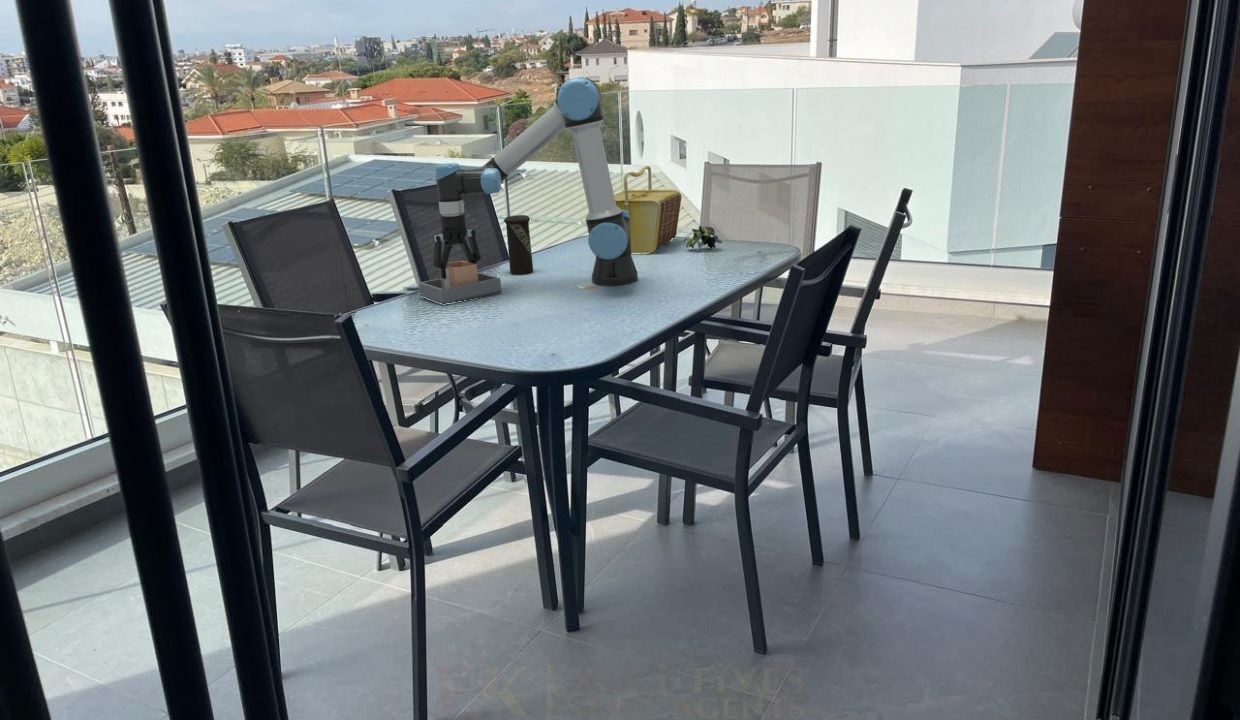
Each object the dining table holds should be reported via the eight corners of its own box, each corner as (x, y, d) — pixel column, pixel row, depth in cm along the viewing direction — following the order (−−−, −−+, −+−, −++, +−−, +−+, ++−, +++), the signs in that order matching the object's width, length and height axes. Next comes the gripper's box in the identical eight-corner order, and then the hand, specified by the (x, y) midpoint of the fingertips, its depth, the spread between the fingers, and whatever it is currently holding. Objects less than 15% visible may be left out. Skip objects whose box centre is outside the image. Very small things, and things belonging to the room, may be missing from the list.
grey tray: (501, 293, 290) (500, 278, 289) (443, 305, 279) (441, 289, 277) (477, 286, 302) (476, 271, 301) (420, 298, 291) (418, 282, 289)
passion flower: (710, 263, 344) (728, 238, 338) (695, 263, 335) (713, 237, 330) (690, 244, 348) (707, 219, 343) (675, 244, 339) (693, 218, 334)
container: (522, 276, 314) (517, 218, 308) (503, 273, 320) (498, 216, 314) (539, 271, 321) (534, 214, 315) (520, 268, 326) (515, 213, 320)
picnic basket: (661, 256, 335) (658, 173, 326) (596, 254, 344) (591, 174, 335) (684, 241, 361) (681, 164, 352) (623, 240, 370) (619, 165, 361)
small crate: (479, 289, 288) (476, 264, 286) (456, 293, 284) (453, 268, 281) (463, 284, 296) (461, 260, 294) (441, 289, 291) (438, 264, 289)
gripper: (475, 208, 292) (482, 278, 298) (416, 217, 280) (424, 290, 286) (487, 210, 286) (494, 281, 293) (427, 219, 274) (435, 293, 281)
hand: (459, 285), depth 290 cm, fingers closed on small crate, 8 cm apart
